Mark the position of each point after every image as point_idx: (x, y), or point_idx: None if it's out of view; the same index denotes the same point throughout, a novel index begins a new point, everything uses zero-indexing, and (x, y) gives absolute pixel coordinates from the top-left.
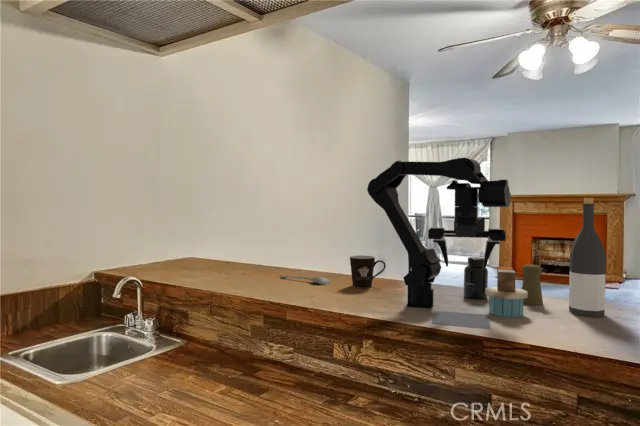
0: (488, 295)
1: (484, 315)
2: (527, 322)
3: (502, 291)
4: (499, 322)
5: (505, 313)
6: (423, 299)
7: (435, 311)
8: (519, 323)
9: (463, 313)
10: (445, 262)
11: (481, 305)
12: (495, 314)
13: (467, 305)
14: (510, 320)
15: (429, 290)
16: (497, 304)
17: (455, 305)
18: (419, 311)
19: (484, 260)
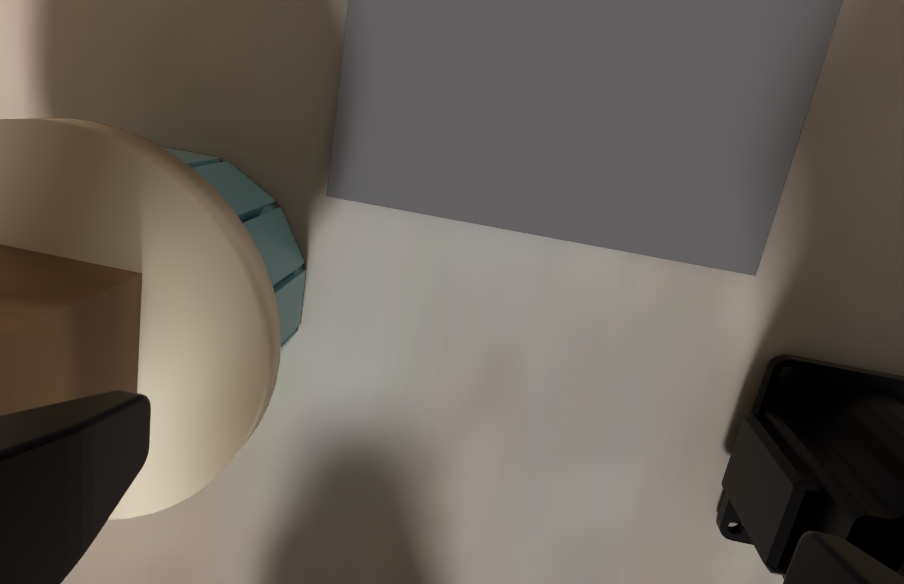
0: (260, 258)
1: (357, 163)
2: (59, 49)
3: (97, 264)
4: (269, 8)
5: (185, 156)
6: (865, 420)
7: (757, 246)
8: (121, 5)
9: (521, 209)
10: (901, 580)
11: (323, 525)
12: (266, 198)
13: (429, 517)
14: (176, 91)
15: (842, 482)
16: None
17: (524, 509)
18: (886, 283)
19: (36, 440)
